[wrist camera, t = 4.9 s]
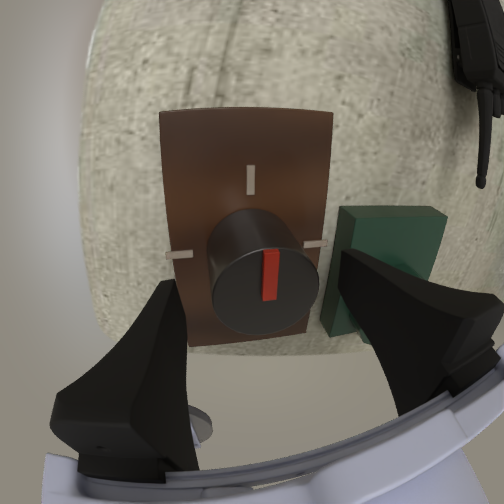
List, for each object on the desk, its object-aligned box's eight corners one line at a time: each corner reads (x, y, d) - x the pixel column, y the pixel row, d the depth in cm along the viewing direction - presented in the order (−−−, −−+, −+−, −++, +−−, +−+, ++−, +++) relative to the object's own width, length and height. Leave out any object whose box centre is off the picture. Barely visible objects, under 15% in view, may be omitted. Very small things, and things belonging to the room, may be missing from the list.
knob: (287, 279, 16) (313, 332, 12) (209, 287, 15) (216, 345, 11) (294, 206, 14) (330, 246, 10) (203, 211, 13) (207, 257, 9)
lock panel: (297, 305, 21) (311, 333, 18) (184, 317, 20) (184, 349, 17) (315, 111, 14) (340, 113, 12) (160, 111, 13) (151, 112, 10)
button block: (400, 305, 24) (422, 331, 21) (318, 322, 23) (337, 356, 19) (430, 205, 19) (464, 226, 16) (339, 205, 18) (371, 231, 14)
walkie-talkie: (494, -2, 7) (507, 195, 15) (437, -17, 10) (447, 176, 18) (502, -33, 2) (529, 207, 10) (433, -52, 6) (455, 182, 14)
